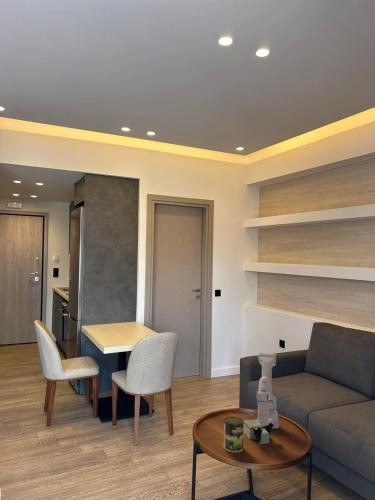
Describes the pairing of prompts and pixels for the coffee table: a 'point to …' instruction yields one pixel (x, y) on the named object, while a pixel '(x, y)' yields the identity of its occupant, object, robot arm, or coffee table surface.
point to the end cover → (264, 437)
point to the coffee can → (233, 434)
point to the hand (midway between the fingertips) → (263, 439)
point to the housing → (250, 428)
